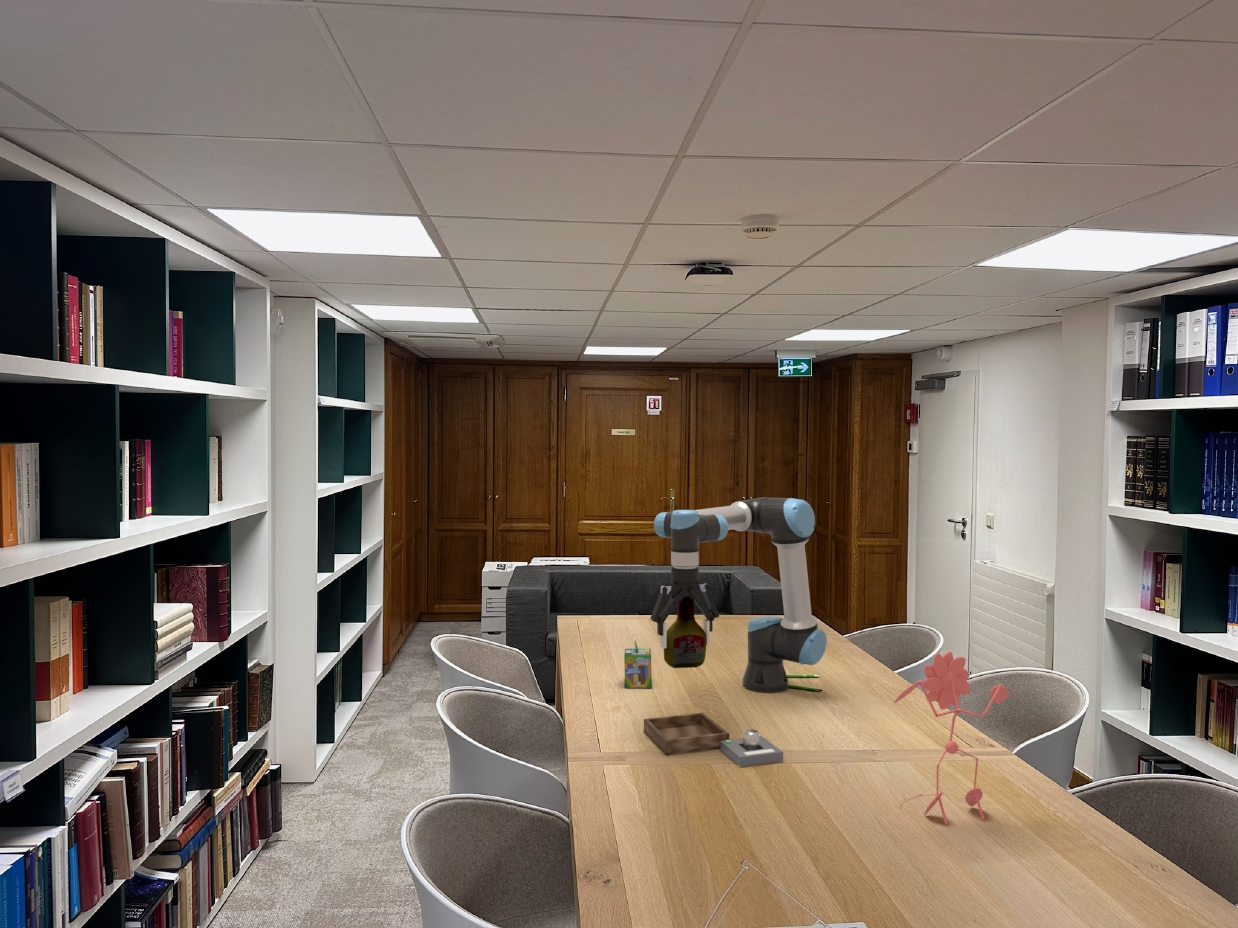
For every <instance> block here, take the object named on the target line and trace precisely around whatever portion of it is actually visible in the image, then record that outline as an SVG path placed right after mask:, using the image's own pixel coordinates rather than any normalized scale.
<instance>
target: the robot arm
mask: <svg viewBox="0 0 1238 928" xmlns="http://www.w3.org/2000/svg"><path fill="white" fill-rule="evenodd" d="M815 525H816V516H815V512H814V510H813V508H812V506H811V505H810V503H808V502H807V501H806V500H804V499H797V498H793V497H768V496H764V497H763V496H762V497H756V498H750V499H744V500H739V501H735V502H733V503H731V504H730V505H725V506H718V507H708V508H702V509H695V510H694V509H676V510H673V511H672V512H671V511H667V512H665V511H664V512H660V513H658V514H657V515H656V517H655V519H654V522H653V529H654V532H655V533H656V535H657V536H658V537H660V538H665V539H670V541H671V544H670V545H671V547H670V559H671V560H670V564H671V566H672V567H671V569H670V580H671V582H670V583H671V584H670V585H669V586H665V585H660V586H659V594H658V597H657V600H656V602H655V605H654V608H653V610H652V613H651V616H650V621H652V622H654V623H656V629H657V630H656V632H657V635H658V636H660V643H659V644H660V647H661V648H663V649H664V648H667V637H666V631H667V623H665V622H666V620H667V618H668V617H669V615H670V614H671V613H672V611H673V610H674V608H675V606H676V605H678V602H679V601H682V600H683V598H684V597H686V596H689V597H691V599H692V600H694V604H695V605H696V607H698V609H699V610H700V612H701V613H702V615H704V617H705V618H704V619H702V624H703V625H702V629H703V630H704V631H705V634H706V641H707V643H706V646H707V645H708V646H709V645H710V643H711V642H710V641H711V640H710V638H711V637H710V635H711V634H710V633H712V632H713V622H714V621H715V619H717V618H719V617H720V613H719V611H718V608H717V605H716V603H715V602H714V599H713V595H712V594H711V589H710V588H711V587H710V585H709V584H708V583H706V582H703V583H701V584H700V583H699V579H700V576H699V575H700V572H699V570H700V569H699V568H698V566H699V564H700V563H699V561H700V559H699V558H700V557H699V550H700V549H699V547H700V545H699V544H703V543H710V542H713V543H715V542H719V541H722V540H724V539H725V538H726V536H727V535H728V533H729V531H730V530H732V531H733V530H735V531H736V532H745V531H746V532H754V533H760V534H761V533H762V534H768V535H769V534H770V538H771V543H772V544H773V545H774V546H776V548H777V558H778V566H779V577H780V578H779V579H780V585H781V594H782V595H781V597H782V604H783V605H782V606H783V615H784V618H783V617H782V616H775V615H773V616H772V615H771V616H770V615H769V616H760V617H755V618H752V619H750V620H749V621H748V625H747V665H746V668H745V671H744V674H743V678H742V687H743V688H744V689H746V690H750V691H752V692H757V693H766V694H767V693H771V694H772V693H780V692H785V691H787V690H788V689H789V682H790V681H789V678H788V675H787V672H786V668H785V665H784V661H788V662H792V663H797V664H800V665H808V666H814V665H816V664H818V663H819V662H821V660H822V658H823V656H824V654H825V653H826V652H825V651H826V650H827V649H826V648H827V641H828V640H827V639H828V638H827V634H826V633H825V631H824V630H823V629H820V628H819V627H818V620H817V618H815V617H814V616H813V615H812V607H811V604H812V603H811V594H810V587H809V585H810V583H809V577H808V566H807V555H806V544H807V543H808V542H809V540H810V536H811V535H812V534H813V532H814V531H815ZM699 591H701V592H702V594H703V597H704V599H705V601H706V604H707V606H708V608H709V609H708V608H707V607H706V606H705V604H704V603H703V601H702V600H701V598H700V597H699V595H698V593H699ZM670 592H671V593H672V595H671V596H670V598H669V601H668V602H667V604H665V602H666V600H667V596H668V595H669V593H670ZM664 605H665V606H664ZM663 607H664V608H663Z"/></svg>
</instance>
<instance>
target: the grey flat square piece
mask: <svg viewBox="0 0 1238 928" xmlns="http://www.w3.org/2000/svg"><path fill="white" fill-rule="evenodd" d="M719 750H720V751H721V752H722V753H723V754H725V756H726V757H728V758H729V759H730V760H731V761H732V760H733V761H732V762H734V764H736V765H737V766H738V765H739V766H740V767H739V766H738V767H739V768H745V766H746V767H752V766H761V765H768V764H776V763H782V762H784V751H782V750H781V749H780V748H778V747H777V746H776V745H774V744H773V743H771V742H770V741H769V740H768V739H766V738H765V737H764V736H762V735H759V749H758V750H750V751H746V750H745V749H744V748H743V737H742V738H735V739H733V738H732V739H729V740H724V741H720V749H719ZM741 766H742V767H741Z"/></svg>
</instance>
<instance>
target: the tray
mask: <svg viewBox="0 0 1238 928" xmlns="http://www.w3.org/2000/svg"><path fill="white" fill-rule="evenodd" d="M643 734H645V735H646V736H647V737H648V738H649V740H650V741H651V742H653V744H655V746H656V747H657V748H658V749H659V750H660V751H661V752H662V753H663V754H664V755H665V756H671V755H672V756H673V755H680V754H681V755H682V754H689V753H695V752H696V753H698V752H705V751H713V750H720V741H724V740H730V733H729V732H728V731H727V730H725V729H724V728H723V727H722V726H720V724H718V723H717V722H715V721H714V720H713V719H711V718H710V717H709V716H708V715H707V714H705V713H704V712H696V713H686V714H678V715H677V714H676V715H668V716H659V717H650V718H644V719H643Z"/></svg>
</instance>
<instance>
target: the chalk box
mask: <svg viewBox="0 0 1238 928" xmlns="http://www.w3.org/2000/svg"><path fill="white" fill-rule="evenodd" d="M634 645H635V648H624V655H623V658H624V659H623V660H624V689H652V688H653V684H652V683H653V680H652V679H653V678H652V675H653V674H652V650H651V649H652V648H641V647H638V645H637V642H636V640H634Z"/></svg>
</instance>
